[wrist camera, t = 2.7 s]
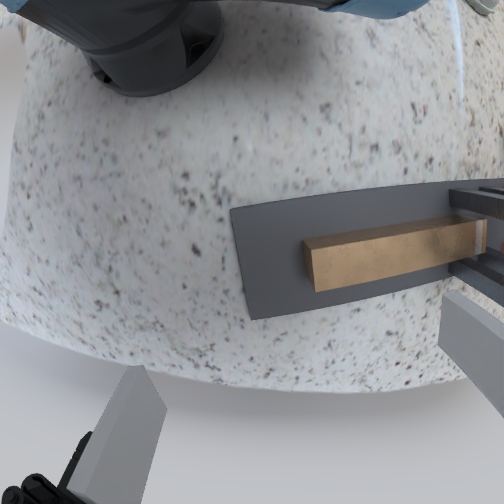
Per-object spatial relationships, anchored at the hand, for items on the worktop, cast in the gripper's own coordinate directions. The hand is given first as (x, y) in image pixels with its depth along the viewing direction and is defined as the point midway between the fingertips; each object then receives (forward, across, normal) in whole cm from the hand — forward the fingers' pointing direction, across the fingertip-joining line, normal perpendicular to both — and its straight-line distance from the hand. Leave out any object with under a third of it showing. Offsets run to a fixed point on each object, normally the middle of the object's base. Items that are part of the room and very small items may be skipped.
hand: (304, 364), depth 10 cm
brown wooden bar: (+18, +14, -2) cm, 23 cm away
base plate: (+19, +17, -2) cm, 26 cm away
